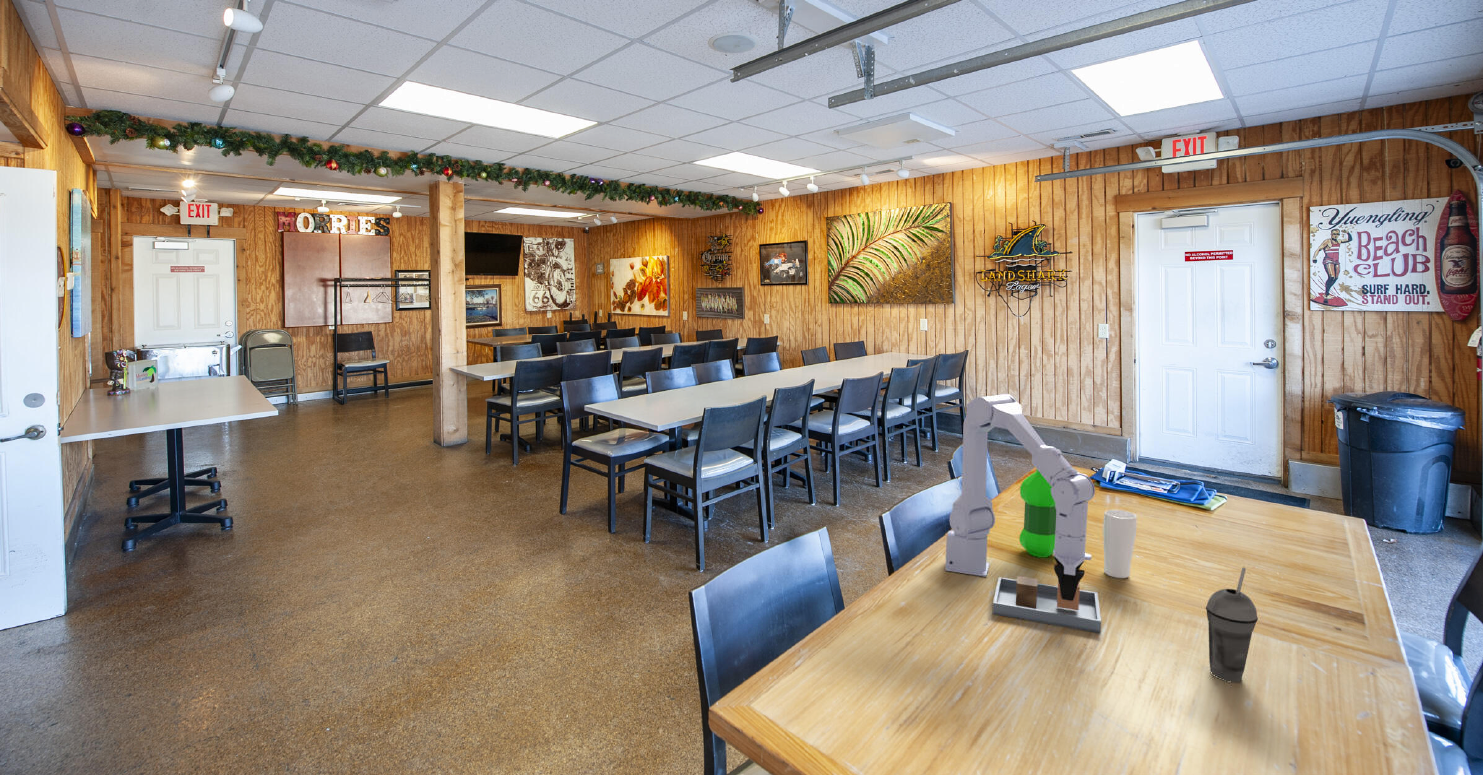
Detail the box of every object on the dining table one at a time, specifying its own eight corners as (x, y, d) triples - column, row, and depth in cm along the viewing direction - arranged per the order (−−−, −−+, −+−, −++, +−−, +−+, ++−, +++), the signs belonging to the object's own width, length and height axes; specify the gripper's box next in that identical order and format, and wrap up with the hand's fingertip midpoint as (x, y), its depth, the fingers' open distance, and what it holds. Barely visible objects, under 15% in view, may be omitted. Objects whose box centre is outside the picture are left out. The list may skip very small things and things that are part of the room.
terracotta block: (1057, 606, 138) (1058, 584, 138) (1057, 598, 142) (1058, 576, 141) (1078, 610, 137) (1079, 587, 136) (1077, 602, 140) (1079, 579, 140)
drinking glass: (1137, 581, 154) (1141, 519, 152) (1105, 579, 155) (1109, 518, 153) (1126, 569, 160) (1130, 510, 158) (1096, 568, 162) (1100, 508, 160)
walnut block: (1015, 605, 142) (1016, 583, 141) (1016, 597, 146) (1017, 576, 145) (1036, 608, 140) (1037, 586, 140) (1036, 601, 144) (1037, 579, 143)
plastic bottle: (1063, 550, 173) (1068, 457, 170) (1057, 564, 164) (1062, 466, 161) (1022, 543, 178) (1026, 452, 175) (1014, 556, 170) (1018, 461, 166)
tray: (992, 613, 139) (993, 602, 139) (998, 587, 152) (998, 577, 152) (1100, 633, 131) (1101, 621, 131) (1096, 603, 143) (1097, 592, 143)
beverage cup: (1200, 659, 121) (1209, 554, 118) (1250, 671, 117) (1260, 563, 114) (1200, 678, 115) (1209, 568, 112) (1253, 692, 111) (1264, 578, 108)
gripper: (1094, 547, 129) (1090, 613, 131) (1090, 524, 142) (1087, 584, 144) (1054, 542, 132) (1050, 606, 134) (1054, 519, 145) (1051, 578, 147)
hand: (1067, 594), depth 139 cm, fingers open, 4 cm apart
